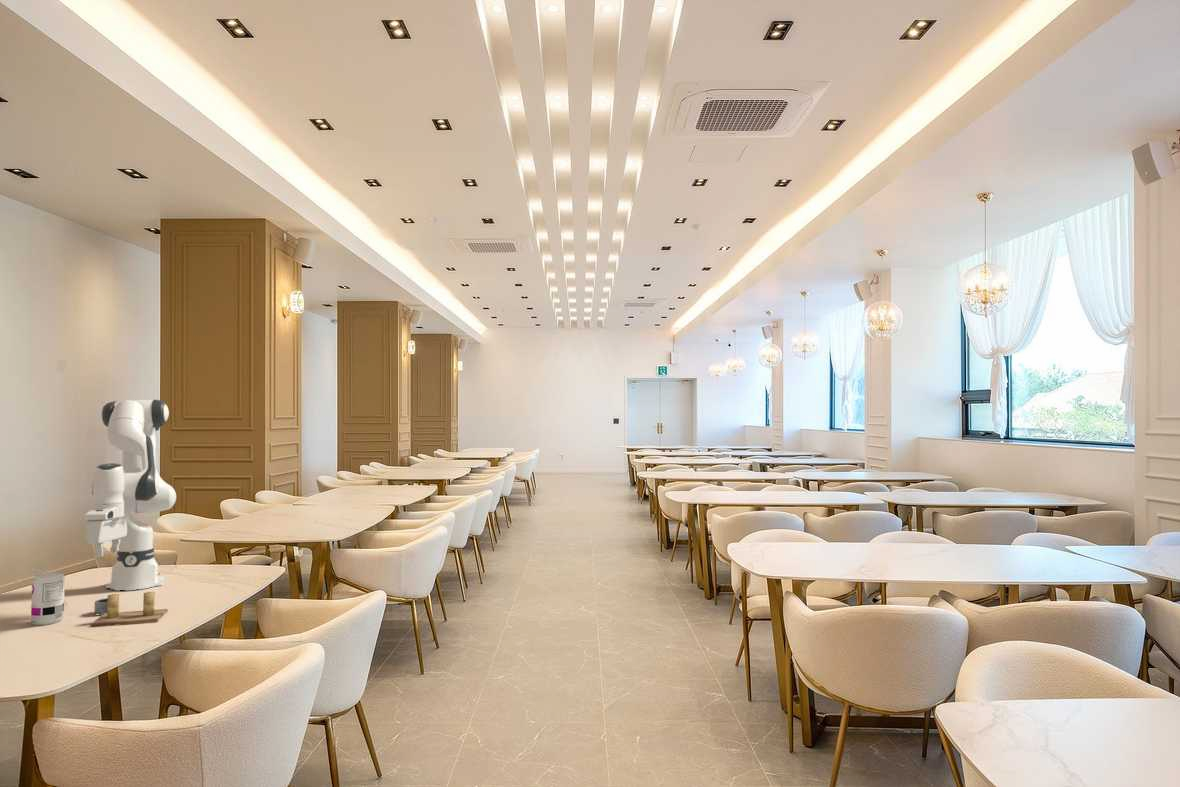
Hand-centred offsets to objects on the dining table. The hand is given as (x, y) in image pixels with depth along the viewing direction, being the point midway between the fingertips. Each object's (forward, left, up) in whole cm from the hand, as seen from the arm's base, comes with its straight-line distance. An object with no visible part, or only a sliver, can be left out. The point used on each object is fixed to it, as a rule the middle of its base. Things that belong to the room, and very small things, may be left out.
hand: (107, 554), depth 233 cm
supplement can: (+7, -14, -20) cm, 25 cm away
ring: (0, 0, -19) cm, 19 cm away
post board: (+11, +10, -19) cm, 24 cm away
